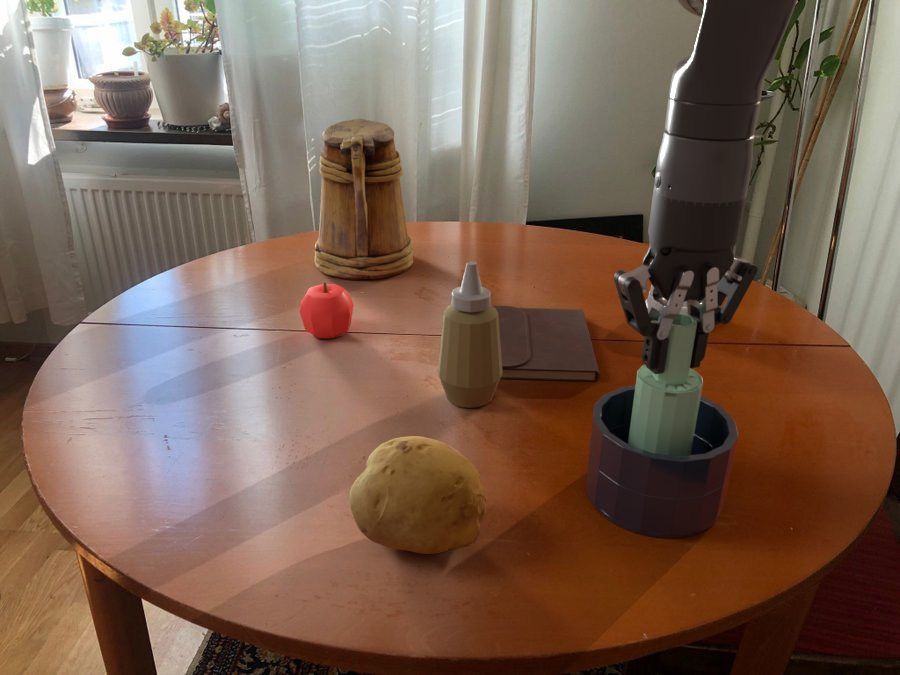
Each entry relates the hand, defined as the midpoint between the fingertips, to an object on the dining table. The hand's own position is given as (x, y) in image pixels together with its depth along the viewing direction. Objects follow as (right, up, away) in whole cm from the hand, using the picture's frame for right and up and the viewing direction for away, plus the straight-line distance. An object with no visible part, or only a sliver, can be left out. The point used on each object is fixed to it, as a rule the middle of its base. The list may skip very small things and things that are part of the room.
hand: (672, 366), depth 70 cm
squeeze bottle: (-18, -5, +24) cm, 31 cm away
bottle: (0, -10, +5) cm, 11 cm away
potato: (-24, -16, +1) cm, 29 cm away
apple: (-39, +3, +41) cm, 56 cm away
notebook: (-8, +1, +37) cm, 38 cm away
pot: (0, -13, +7) cm, 15 cm away
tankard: (-36, +15, +65) cm, 76 cm away
